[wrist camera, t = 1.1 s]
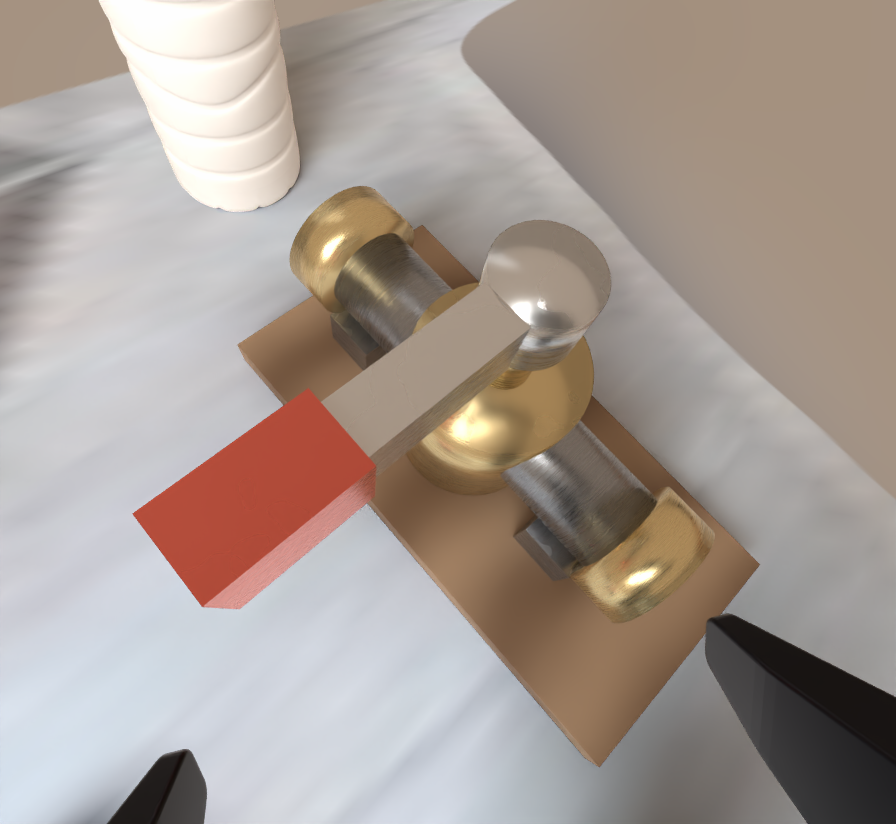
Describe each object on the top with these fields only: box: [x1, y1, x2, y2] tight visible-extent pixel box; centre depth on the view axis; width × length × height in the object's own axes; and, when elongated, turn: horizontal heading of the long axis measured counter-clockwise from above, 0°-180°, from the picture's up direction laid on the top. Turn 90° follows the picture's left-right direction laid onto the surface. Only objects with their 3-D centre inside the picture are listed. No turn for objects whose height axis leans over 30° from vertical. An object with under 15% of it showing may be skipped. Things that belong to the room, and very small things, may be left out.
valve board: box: [238, 225, 760, 767], centre depth 25 cm, size 22×11×2 cm, turn 42°
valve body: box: [290, 186, 715, 624], centre depth 20 cm, size 18×6×9 cm, turn 42°
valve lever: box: [133, 220, 611, 609], centre depth 13 cm, size 12×3×3 cm, turn 132°
